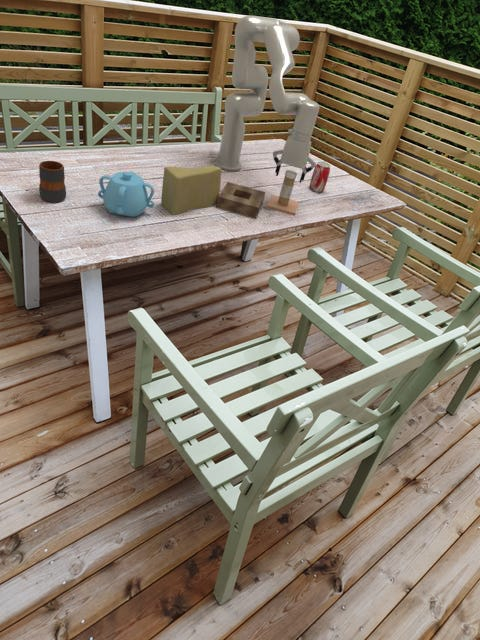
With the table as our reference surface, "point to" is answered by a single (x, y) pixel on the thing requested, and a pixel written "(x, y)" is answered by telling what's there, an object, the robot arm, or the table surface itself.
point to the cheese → (190, 188)
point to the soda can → (320, 177)
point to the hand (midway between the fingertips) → (288, 178)
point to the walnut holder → (240, 199)
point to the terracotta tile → (288, 208)
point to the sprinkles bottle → (287, 187)
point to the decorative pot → (126, 194)
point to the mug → (52, 181)
